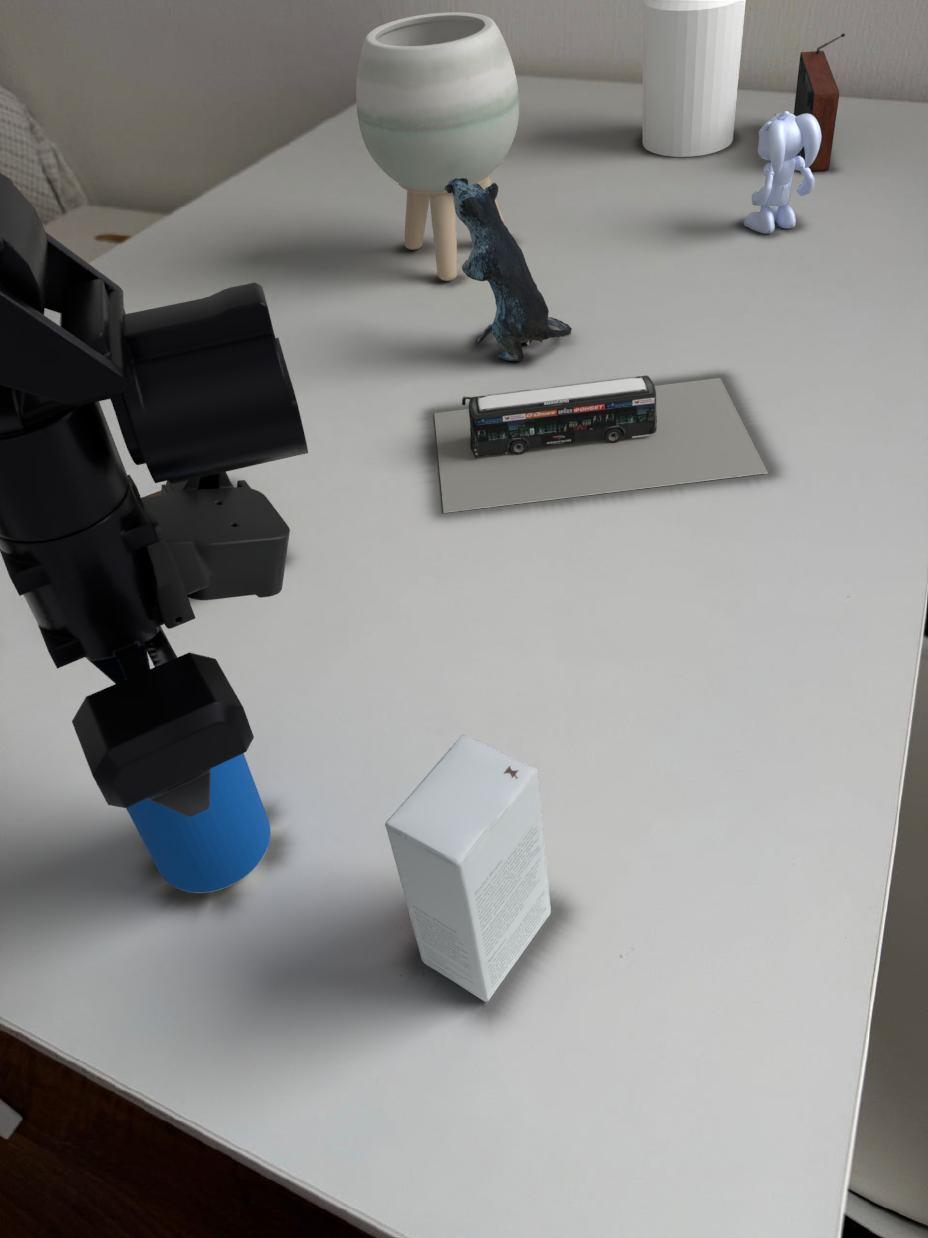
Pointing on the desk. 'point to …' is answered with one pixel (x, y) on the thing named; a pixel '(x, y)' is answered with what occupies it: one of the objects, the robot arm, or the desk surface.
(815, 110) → the radio
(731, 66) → the bottle
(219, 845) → the beverage can
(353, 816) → the desk surface
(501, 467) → the model bus display
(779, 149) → the toy figurine
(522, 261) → the sculpture
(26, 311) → the robot arm
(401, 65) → the planter
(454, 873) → the cosmetic box
